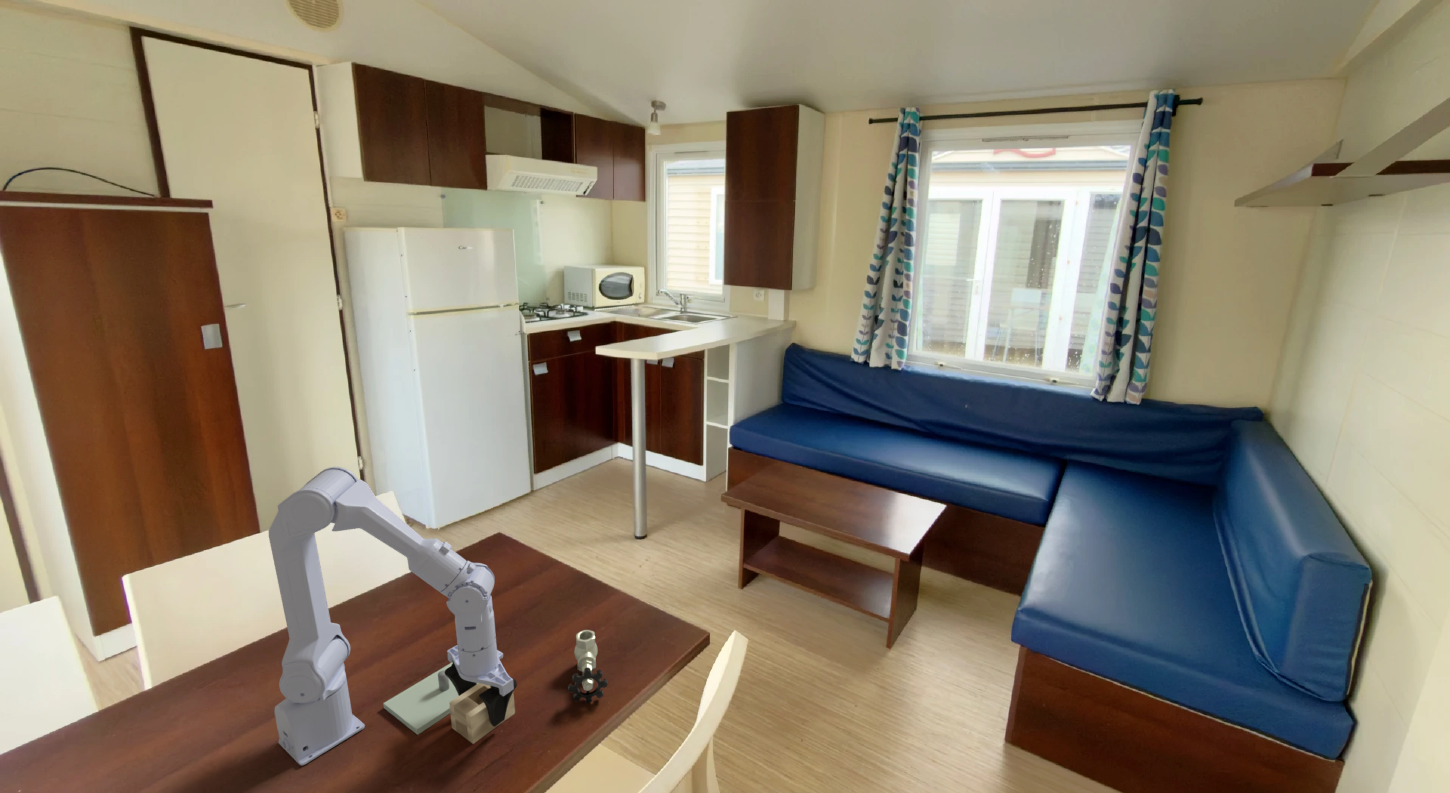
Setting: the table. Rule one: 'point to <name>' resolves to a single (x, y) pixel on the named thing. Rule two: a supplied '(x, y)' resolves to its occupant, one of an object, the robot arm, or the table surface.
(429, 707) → the pin base
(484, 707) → the collar block
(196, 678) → the table surface
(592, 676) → the valve
